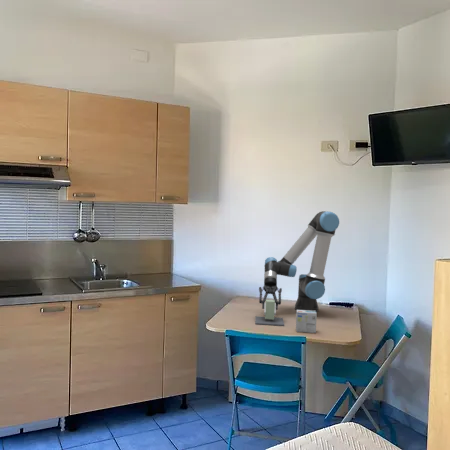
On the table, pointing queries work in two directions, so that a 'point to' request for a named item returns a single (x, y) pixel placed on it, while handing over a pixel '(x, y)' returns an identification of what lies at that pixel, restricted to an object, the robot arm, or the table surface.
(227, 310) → the table surface
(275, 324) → the mat
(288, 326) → the table surface
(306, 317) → the light bulb box
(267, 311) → the sage block
